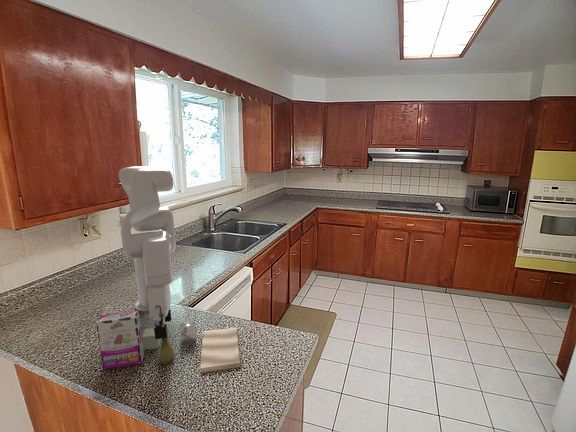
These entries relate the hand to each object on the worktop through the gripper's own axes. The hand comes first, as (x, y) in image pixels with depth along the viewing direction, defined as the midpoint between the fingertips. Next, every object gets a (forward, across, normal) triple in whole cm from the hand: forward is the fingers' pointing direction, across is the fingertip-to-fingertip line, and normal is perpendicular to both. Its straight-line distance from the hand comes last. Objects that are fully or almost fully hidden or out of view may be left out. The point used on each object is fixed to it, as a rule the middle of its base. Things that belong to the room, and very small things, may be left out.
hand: (163, 329), depth 97 cm
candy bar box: (+12, -3, -13) cm, 18 cm away
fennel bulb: (+12, -1, 0) cm, 12 cm away
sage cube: (+11, -11, -6) cm, 17 cm away
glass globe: (+11, -11, +6) cm, 17 cm away
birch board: (+12, -3, +17) cm, 21 cm away
